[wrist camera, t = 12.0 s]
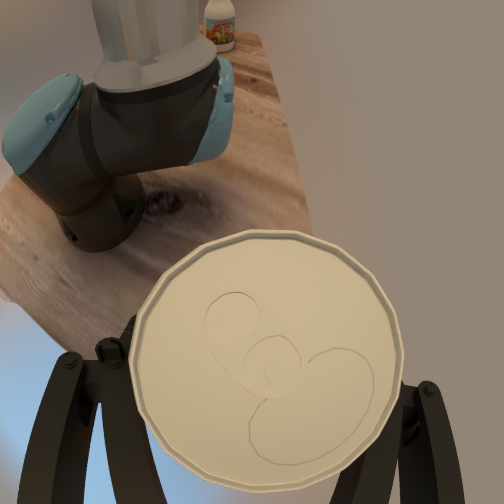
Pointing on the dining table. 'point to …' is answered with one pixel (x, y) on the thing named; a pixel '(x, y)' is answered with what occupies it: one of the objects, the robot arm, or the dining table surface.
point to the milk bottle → (220, 24)
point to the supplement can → (266, 360)
